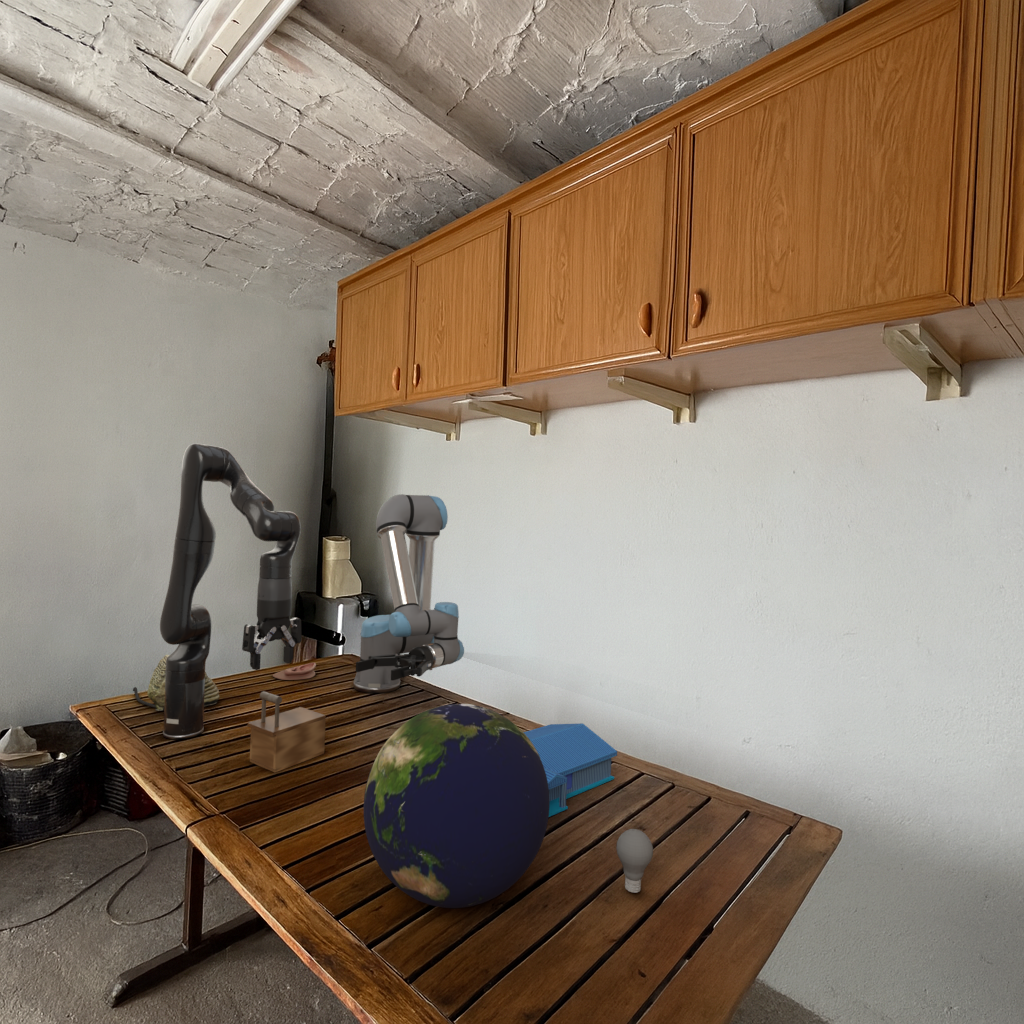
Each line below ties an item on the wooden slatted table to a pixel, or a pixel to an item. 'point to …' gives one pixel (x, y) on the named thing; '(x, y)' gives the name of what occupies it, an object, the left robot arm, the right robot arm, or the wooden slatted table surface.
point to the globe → (456, 806)
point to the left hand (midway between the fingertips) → (272, 665)
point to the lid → (283, 717)
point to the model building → (571, 760)
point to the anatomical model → (297, 672)
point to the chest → (287, 746)
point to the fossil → (158, 687)
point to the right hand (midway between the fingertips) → (373, 671)
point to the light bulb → (634, 857)
